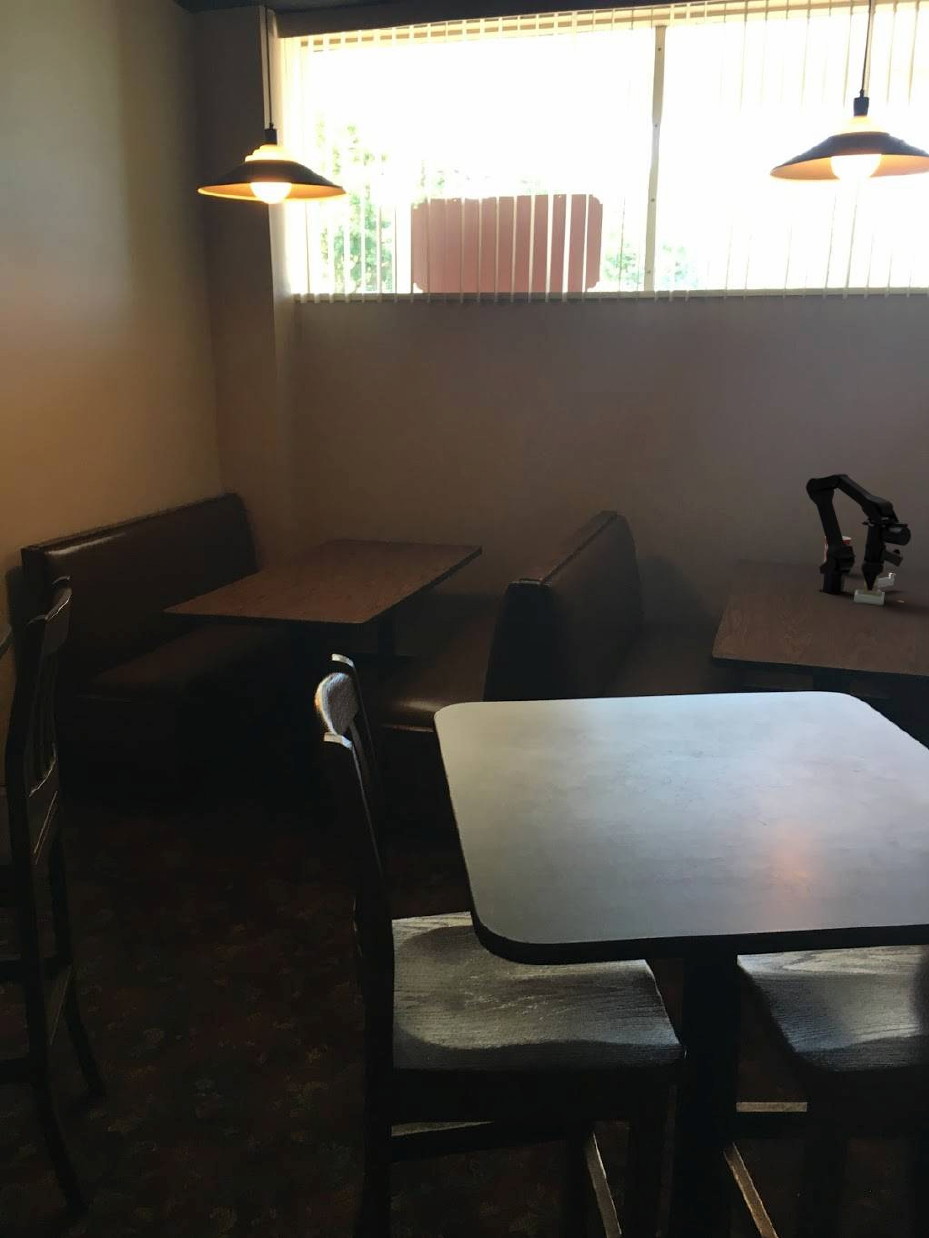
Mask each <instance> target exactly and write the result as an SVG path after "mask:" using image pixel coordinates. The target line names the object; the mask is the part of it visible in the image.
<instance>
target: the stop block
mask: <svg viewBox="0 0 929 1238" xmlns="http://www.w3.org/2000/svg"><path fill="white" fill-rule="evenodd" d="M879 578H880V574H879V575H877V577H876V580H875V583H874V586H873V588H872V591H868V588H867V585H866V582H865V580H864V583H863V589H862V590H863V594H871V595H877V588H878V580H879ZM878 589H879V588H878Z"/></svg>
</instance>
